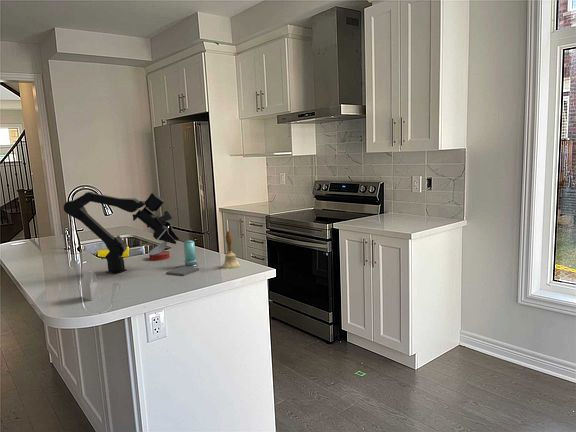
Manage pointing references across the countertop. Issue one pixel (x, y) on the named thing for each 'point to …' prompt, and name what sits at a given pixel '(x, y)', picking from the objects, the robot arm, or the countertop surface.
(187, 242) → the teal cylinder
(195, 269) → the mat
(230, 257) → the hand bell
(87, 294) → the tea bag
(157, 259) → the canned food
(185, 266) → the metal domed disc
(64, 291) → the countertop surface
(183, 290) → the countertop surface
